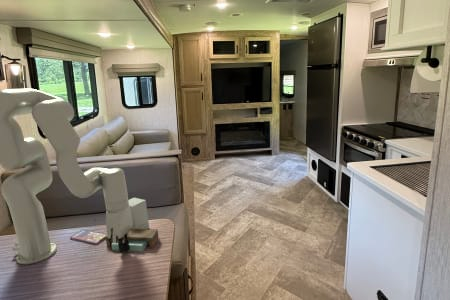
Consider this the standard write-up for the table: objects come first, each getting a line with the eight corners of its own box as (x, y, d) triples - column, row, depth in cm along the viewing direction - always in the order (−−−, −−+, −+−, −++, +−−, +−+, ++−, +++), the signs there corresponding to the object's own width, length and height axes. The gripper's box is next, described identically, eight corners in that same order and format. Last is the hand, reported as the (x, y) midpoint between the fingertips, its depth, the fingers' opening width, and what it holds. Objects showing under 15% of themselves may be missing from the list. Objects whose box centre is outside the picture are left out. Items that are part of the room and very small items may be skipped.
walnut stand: (107, 246, 112) (105, 236, 111) (114, 237, 118) (113, 228, 117) (152, 247, 109) (151, 237, 108) (158, 239, 115) (157, 229, 114)
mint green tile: (112, 249, 109) (111, 244, 109) (120, 241, 115) (119, 235, 114) (142, 251, 107) (141, 245, 107) (149, 242, 113) (148, 237, 112)
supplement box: (149, 227, 125) (146, 199, 122) (136, 235, 119) (132, 206, 116) (137, 223, 129) (134, 196, 126) (124, 231, 122) (119, 203, 120)
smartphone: (83, 231, 126) (110, 236, 120) (68, 239, 119) (96, 245, 113) (83, 229, 126) (110, 234, 120) (68, 237, 119) (96, 243, 113)
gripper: (118, 195, 110) (124, 239, 114) (94, 213, 96) (103, 262, 100) (137, 195, 109) (143, 240, 113) (116, 213, 94) (124, 263, 99)
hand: (124, 250), depth 106 cm, fingers closed
